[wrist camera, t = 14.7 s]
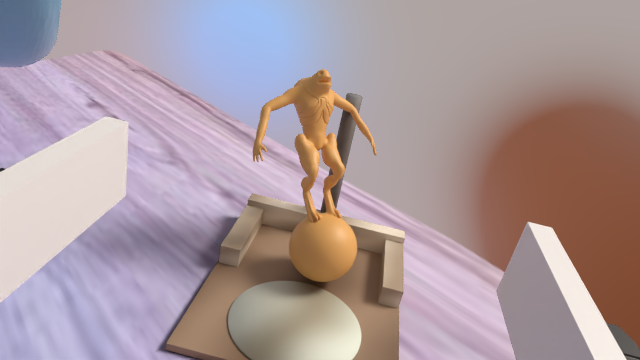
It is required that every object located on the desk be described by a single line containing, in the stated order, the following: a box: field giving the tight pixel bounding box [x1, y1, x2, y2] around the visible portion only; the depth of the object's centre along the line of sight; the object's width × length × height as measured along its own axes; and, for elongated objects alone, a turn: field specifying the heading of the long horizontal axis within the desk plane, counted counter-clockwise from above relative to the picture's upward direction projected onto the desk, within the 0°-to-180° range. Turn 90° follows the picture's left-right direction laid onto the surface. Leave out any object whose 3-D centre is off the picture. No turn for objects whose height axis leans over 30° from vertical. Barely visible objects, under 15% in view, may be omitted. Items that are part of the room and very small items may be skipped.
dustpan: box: [166, 93, 405, 360], centre depth 27 cm, size 11×14×10 cm
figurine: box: [253, 69, 376, 282], centre depth 28 cm, size 8×6×12 cm
